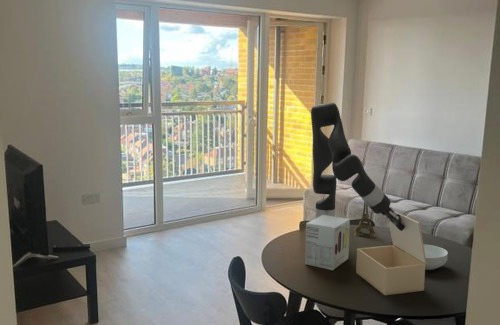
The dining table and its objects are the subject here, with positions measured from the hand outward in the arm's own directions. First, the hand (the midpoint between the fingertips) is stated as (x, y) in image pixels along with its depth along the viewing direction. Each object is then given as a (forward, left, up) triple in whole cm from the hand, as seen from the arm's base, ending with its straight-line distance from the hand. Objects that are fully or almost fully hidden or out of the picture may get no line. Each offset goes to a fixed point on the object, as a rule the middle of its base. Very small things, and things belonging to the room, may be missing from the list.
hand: (402, 228), depth 181 cm
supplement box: (-29, +13, -21) cm, 38 cm away
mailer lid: (+1, +1, -3) cm, 3 cm away
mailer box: (-4, -2, -21) cm, 21 cm away
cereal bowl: (+11, +18, -21) cm, 30 cm away
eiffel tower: (-15, +58, -21) cm, 64 cm away
